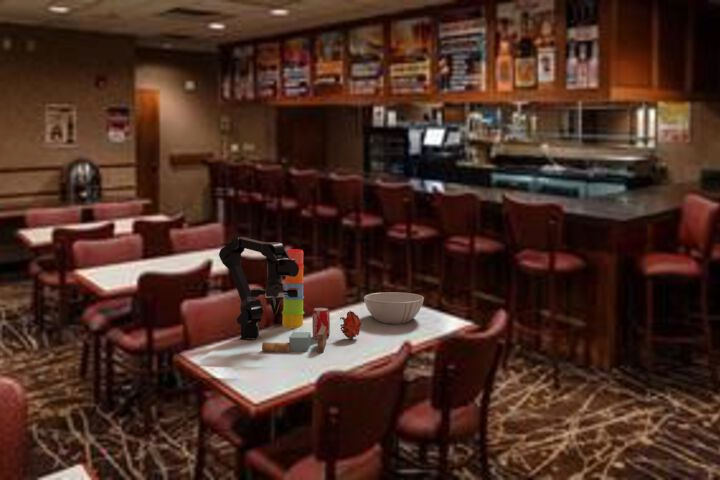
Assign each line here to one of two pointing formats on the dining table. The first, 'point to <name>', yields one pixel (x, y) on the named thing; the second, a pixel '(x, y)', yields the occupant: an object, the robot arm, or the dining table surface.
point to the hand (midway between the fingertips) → (275, 314)
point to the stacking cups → (294, 304)
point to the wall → (321, 339)
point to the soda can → (321, 321)
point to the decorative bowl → (393, 306)
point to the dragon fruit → (351, 325)
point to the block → (299, 341)
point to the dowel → (275, 347)
